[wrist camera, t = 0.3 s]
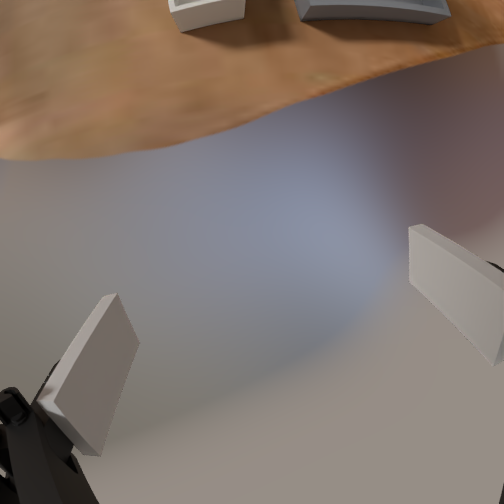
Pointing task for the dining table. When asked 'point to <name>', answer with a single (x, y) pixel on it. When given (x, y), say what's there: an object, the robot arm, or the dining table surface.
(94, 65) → the dining table surface
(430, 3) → the slate crate
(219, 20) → the white crate
